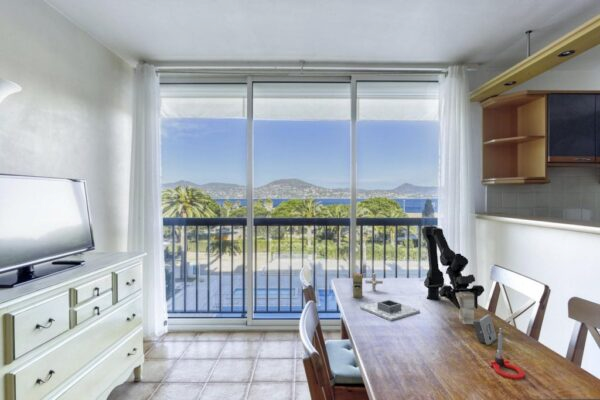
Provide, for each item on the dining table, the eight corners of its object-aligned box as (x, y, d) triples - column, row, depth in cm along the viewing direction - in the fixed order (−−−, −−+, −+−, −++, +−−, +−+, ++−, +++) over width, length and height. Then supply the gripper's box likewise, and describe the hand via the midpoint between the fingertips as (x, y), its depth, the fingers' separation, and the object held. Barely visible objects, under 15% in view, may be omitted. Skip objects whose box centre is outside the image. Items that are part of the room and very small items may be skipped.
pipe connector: (381, 288, 205) (381, 271, 205) (383, 293, 195) (383, 275, 195) (364, 287, 206) (364, 271, 206) (366, 292, 196) (366, 275, 196)
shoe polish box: (362, 297, 187) (362, 276, 186) (353, 297, 188) (353, 275, 187) (362, 295, 191) (362, 273, 191) (353, 294, 192) (353, 273, 192)
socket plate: (388, 301, 180) (388, 294, 180) (419, 312, 163) (419, 305, 163) (360, 308, 169) (360, 301, 169) (390, 320, 153) (390, 313, 153)
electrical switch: (488, 346, 127) (486, 321, 128) (474, 343, 131) (471, 318, 132) (497, 338, 134) (494, 315, 134) (483, 336, 137) (481, 312, 138)
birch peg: (459, 320, 153) (459, 291, 153) (468, 320, 153) (468, 291, 153) (464, 324, 148) (464, 294, 148) (474, 324, 149) (474, 294, 148)
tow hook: (531, 379, 105) (508, 363, 114) (532, 339, 104) (510, 326, 113) (506, 382, 104) (486, 365, 113) (508, 341, 103) (487, 327, 112)
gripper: (442, 268, 154) (453, 300, 143) (482, 267, 154) (497, 299, 144) (434, 281, 162) (445, 312, 151) (472, 280, 162) (486, 311, 152)
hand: (468, 308), depth 149 cm, fingers open, 7 cm apart
